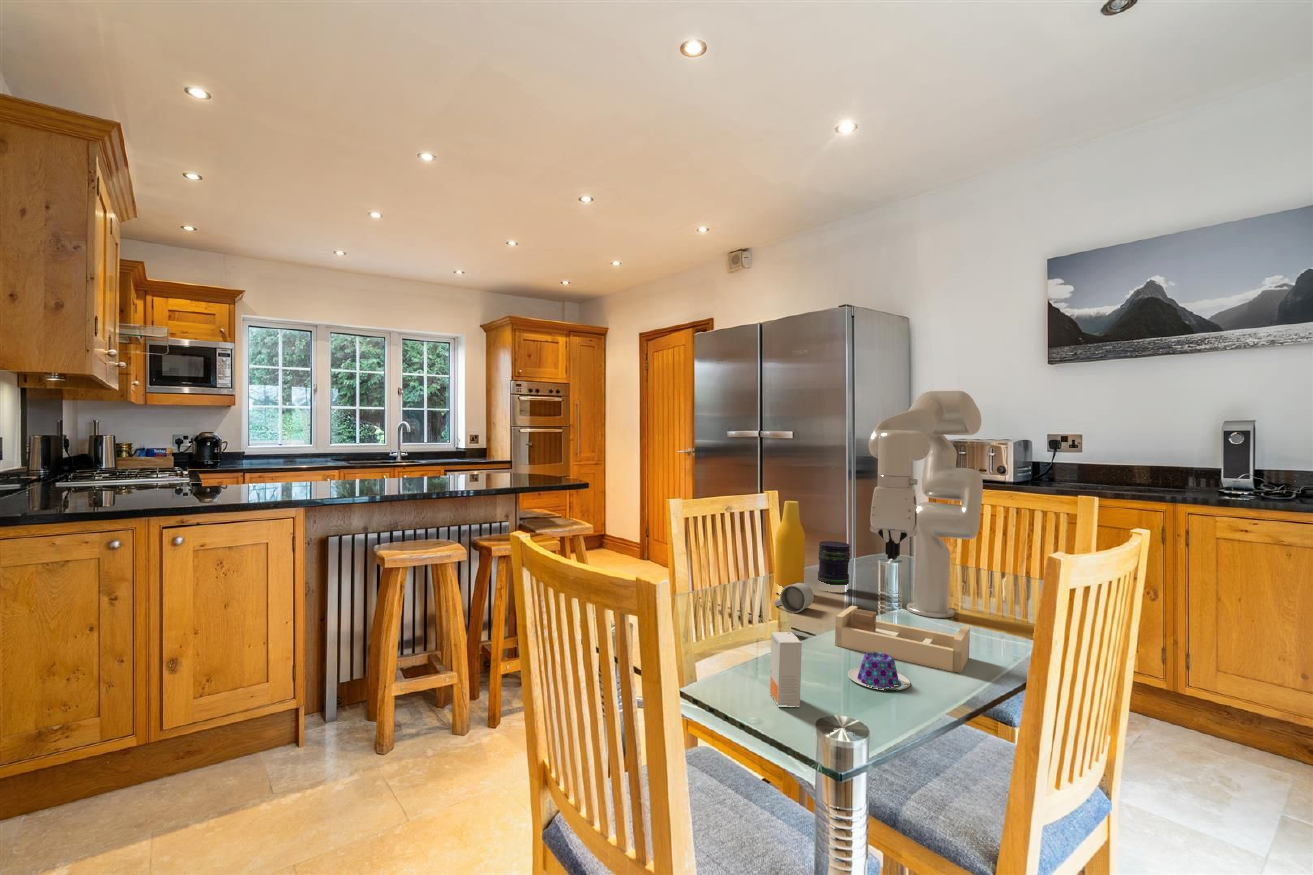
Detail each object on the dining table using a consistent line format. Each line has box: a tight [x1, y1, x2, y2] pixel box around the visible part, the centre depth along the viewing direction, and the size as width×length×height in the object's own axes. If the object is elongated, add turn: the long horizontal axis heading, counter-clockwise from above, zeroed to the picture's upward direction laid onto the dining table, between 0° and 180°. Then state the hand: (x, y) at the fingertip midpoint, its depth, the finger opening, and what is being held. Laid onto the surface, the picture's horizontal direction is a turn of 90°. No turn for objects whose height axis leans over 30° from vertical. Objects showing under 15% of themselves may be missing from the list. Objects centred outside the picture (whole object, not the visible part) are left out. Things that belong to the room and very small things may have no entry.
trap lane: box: [834, 605, 971, 674], centre depth 144 cm, size 12×27×7 cm, turn 55°
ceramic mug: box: [773, 583, 815, 614], centre depth 178 cm, size 11×8×8 cm
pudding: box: [847, 652, 911, 691], centre depth 126 cm, size 12×12×5 cm
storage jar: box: [817, 540, 851, 585], centre depth 202 cm, size 10×10×15 cm
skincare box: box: [769, 631, 803, 707], centre depth 115 cm, size 6×4×12 cm
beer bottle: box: [773, 500, 806, 588], centre depth 195 cm, size 9×9×29 cm
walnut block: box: [852, 609, 877, 632], centre depth 148 cm, size 4×4×4 cm
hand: (892, 558), depth 149 cm, fingers closed
